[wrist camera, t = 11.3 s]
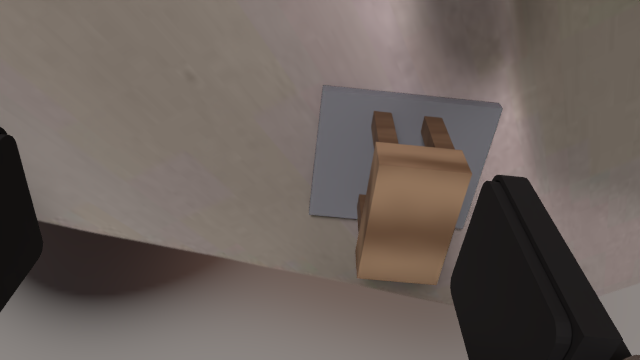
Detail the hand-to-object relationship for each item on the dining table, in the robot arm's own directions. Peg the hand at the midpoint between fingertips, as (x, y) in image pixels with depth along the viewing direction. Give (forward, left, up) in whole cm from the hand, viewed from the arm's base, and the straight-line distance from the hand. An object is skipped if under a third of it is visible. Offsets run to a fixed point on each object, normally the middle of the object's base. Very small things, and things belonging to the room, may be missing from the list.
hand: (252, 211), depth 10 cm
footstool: (+9, -15, -27) cm, 32 cm away
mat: (+9, -15, -28) cm, 33 cm away
